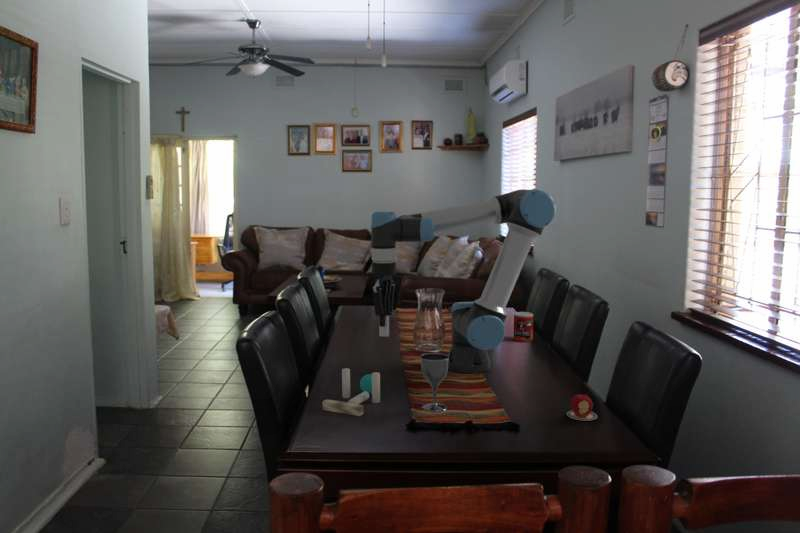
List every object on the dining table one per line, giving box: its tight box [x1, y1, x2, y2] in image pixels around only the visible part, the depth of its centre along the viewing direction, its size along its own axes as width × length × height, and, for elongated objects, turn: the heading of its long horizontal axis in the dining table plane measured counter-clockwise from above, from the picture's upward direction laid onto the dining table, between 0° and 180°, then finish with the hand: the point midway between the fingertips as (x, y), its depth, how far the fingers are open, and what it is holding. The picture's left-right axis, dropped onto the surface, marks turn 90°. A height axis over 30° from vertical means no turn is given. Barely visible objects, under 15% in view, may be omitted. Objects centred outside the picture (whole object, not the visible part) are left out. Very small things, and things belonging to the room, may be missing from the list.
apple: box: [566, 393, 598, 422], centre depth 177 cm, size 8×8×6 cm
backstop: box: [322, 399, 364, 417], centre depth 182 cm, size 12×2×2 cm, turn 65°
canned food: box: [513, 311, 534, 343], centre depth 264 cm, size 8×8×11 cm
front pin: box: [347, 391, 370, 405], centre depth 189 cm, size 2×2×8 cm
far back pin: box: [341, 367, 351, 399], centre depth 194 cm, size 2×2×8 cm
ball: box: [359, 373, 372, 395], centre depth 197 cm, size 6×6×6 cm
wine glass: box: [420, 352, 449, 413], centre depth 184 cm, size 8×8×15 cm
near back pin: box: [371, 371, 381, 404], centre depth 190 cm, size 2×2×8 cm
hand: (384, 335), depth 205 cm, fingers closed
